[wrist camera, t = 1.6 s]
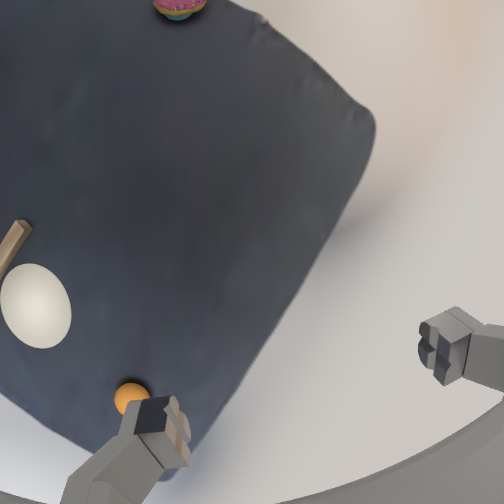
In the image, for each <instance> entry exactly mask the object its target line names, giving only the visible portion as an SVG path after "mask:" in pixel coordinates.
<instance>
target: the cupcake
mask: <svg viewBox="0 0 504 504" xmlns="http://www.w3.org/2000/svg"><path fill="white" fill-rule="evenodd" d="M206 2H207V0H153V5H154V7H155V8H156V9H157V10H158V11H159V12H160V13H162V14H164V15H165V16H166V17H167V18H169V19H171V20H183V19H186V18H188V17H189V16H190V15H191V14H192V13H193V12H198V11H199V10H201V9H202V8H203V7H204V5H205V4H206Z"/></svg>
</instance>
